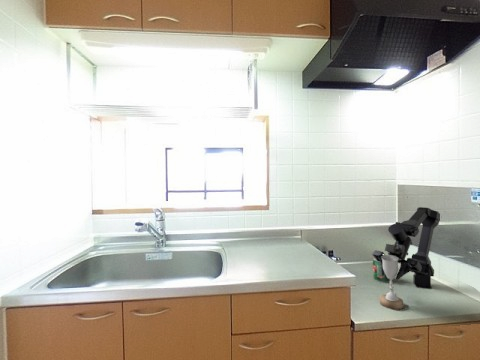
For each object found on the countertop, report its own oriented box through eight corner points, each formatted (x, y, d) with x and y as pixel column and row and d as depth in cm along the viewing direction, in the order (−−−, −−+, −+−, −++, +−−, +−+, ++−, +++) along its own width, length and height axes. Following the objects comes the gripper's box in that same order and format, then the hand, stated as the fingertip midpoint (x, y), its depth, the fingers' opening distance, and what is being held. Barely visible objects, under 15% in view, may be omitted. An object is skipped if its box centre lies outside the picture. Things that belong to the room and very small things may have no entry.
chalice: (398, 304, 112) (396, 261, 111) (380, 299, 116) (378, 258, 115) (403, 297, 117) (401, 256, 116) (386, 292, 121) (384, 254, 121)
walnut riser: (400, 301, 119) (400, 296, 119) (405, 311, 111) (405, 305, 111) (378, 298, 122) (378, 293, 122) (381, 308, 114) (381, 302, 114)
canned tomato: (392, 282, 139) (392, 261, 138) (377, 282, 139) (377, 261, 138) (384, 276, 147) (384, 256, 146) (370, 276, 147) (370, 257, 146)
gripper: (374, 233, 126) (361, 261, 120) (418, 240, 110) (405, 273, 104) (383, 246, 130) (371, 274, 124) (426, 255, 115) (415, 288, 109)
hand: (389, 277), depth 115 cm, fingers closed on chalice, 6 cm apart
